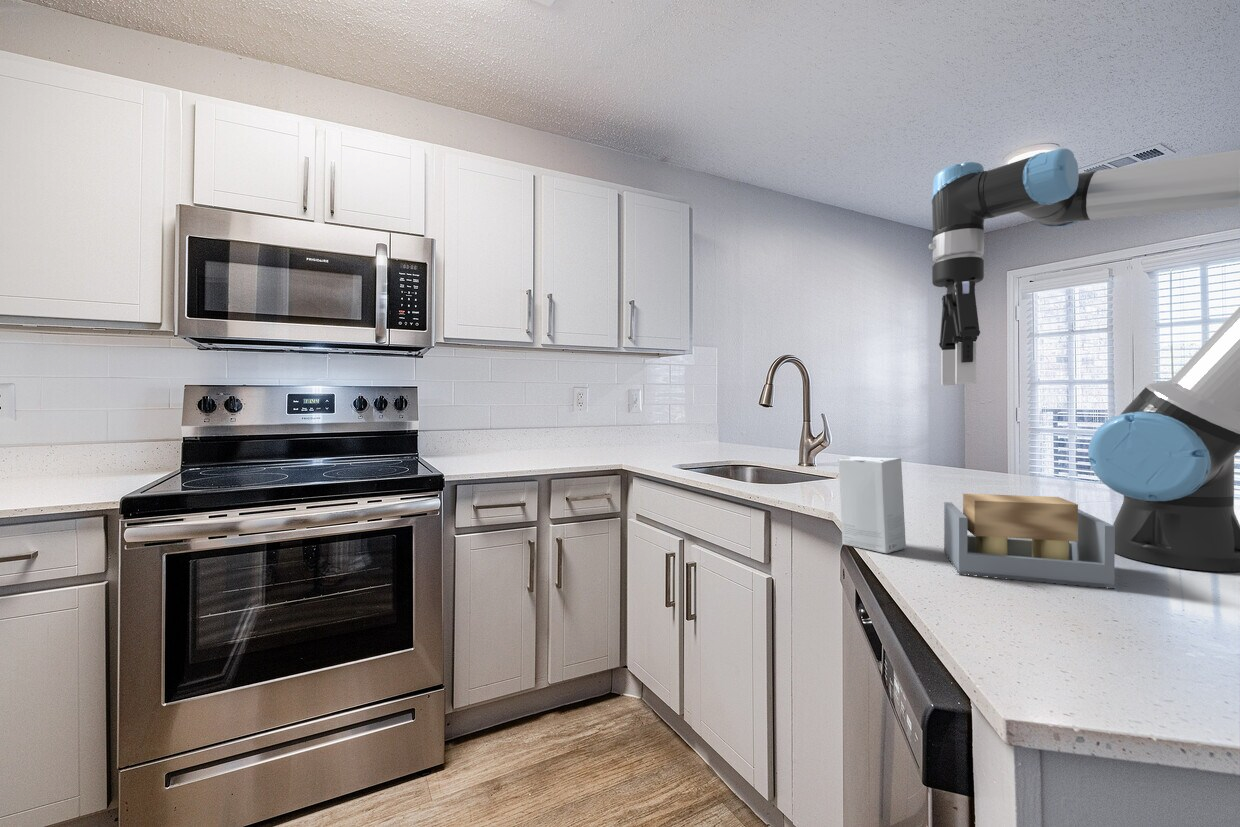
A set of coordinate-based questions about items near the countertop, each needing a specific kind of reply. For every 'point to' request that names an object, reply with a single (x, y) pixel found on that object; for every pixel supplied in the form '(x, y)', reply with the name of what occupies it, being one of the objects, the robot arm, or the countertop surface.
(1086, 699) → the countertop surface
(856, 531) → the skincare box
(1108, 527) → the peg frame
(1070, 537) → the wooden block
